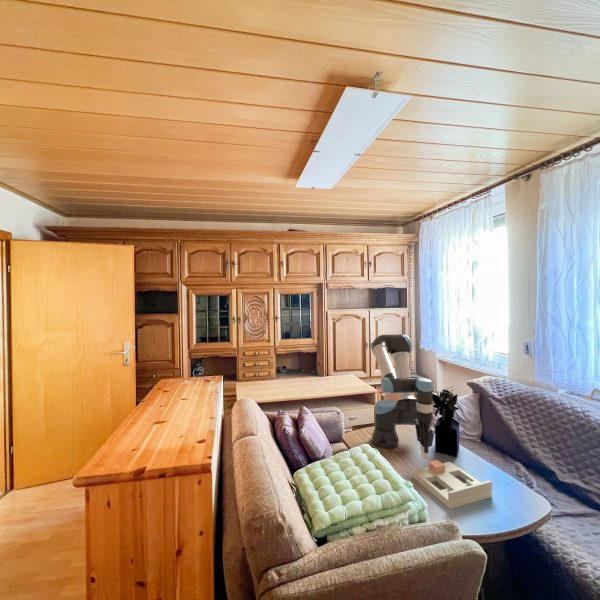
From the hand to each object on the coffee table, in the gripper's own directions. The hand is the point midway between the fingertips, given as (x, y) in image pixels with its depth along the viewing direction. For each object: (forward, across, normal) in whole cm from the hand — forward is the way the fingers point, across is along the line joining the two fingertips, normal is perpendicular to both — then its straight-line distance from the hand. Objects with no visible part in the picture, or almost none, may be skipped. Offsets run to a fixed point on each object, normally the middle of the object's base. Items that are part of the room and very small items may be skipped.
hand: (424, 457), depth 153 cm
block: (+2, +8, 0) cm, 8 cm away
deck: (+5, +16, 0) cm, 17 cm away
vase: (+5, -9, +22) cm, 24 cm away
